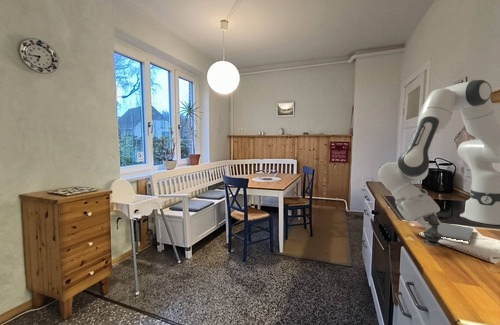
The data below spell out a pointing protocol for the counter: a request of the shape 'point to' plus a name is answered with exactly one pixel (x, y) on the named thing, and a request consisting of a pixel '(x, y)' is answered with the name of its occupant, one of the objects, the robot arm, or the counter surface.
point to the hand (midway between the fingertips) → (434, 226)
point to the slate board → (455, 231)
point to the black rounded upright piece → (432, 231)
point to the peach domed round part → (416, 225)
